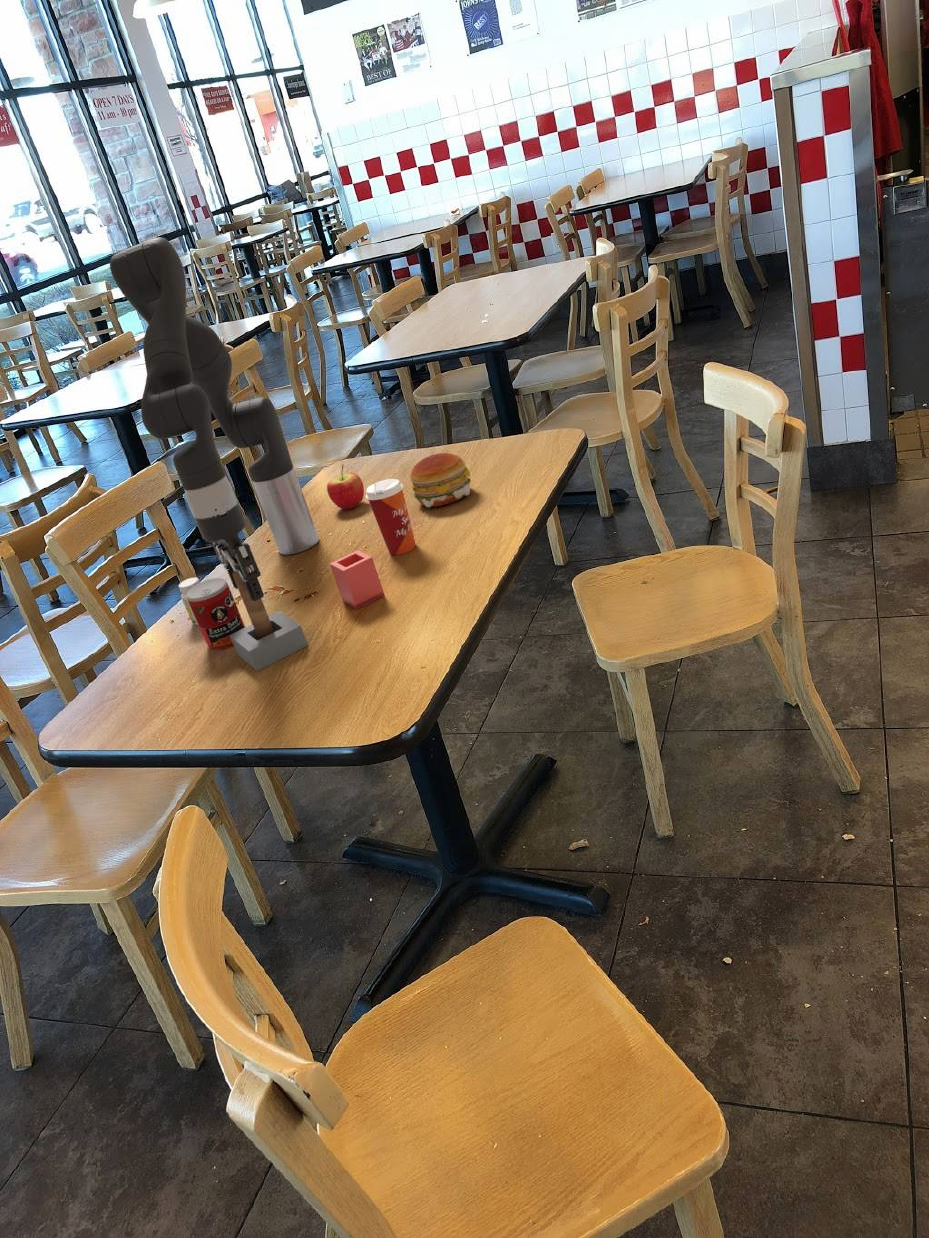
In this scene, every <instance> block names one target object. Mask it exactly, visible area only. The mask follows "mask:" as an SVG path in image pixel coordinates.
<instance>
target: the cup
mask: <svg viewBox="0 0 929 1238" xmlns="http://www.w3.org/2000/svg"><path fill="white" fill-rule="evenodd" d="M329 566H330V569H331V572H332V574H333V576H334V579H335V583H336V586H337V588H338V591H339V594H340V597H341V600H342V602H343V603H345V604H347V605H348V606H350V607H352V608H354V609H356V610H359V609H361V608H363V607H365V606H367V605H370V604H371V603H372V602H375V601H376V600H378V599H380V598H382V597H385V596H386V595H385V592H384V589H383V586H382V583H381V580H380V578H379V574H378V572H377V569H376V568H377V567H376V566H375V562H374V559H373V557H372V556H370V555H369V554H367V553H364V552H362V551H361V550H358V549H357V550H355V551H353V552H351V553H349V554H347V555H345V556H343V557H340V558H339V559H336V560H335V561H332V562H329Z"/></svg>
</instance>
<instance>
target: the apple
mask: <svg viewBox="0 0 929 1238" xmlns="http://www.w3.org/2000/svg"><path fill="white" fill-rule="evenodd" d="M343 470H344V464H341V471H343ZM326 485H327V486H326V489H327V490H326V491H327V494H328V496H329V499H330V500H331V501H332V502H333V503H334V505H335V506H336V507H338V508H340V509H342V510H350V509H355V507H358V506H359V505H360V504H361V503H362V502H363V500H364V496H365V495H364V494H365V488H364V487H365V486H364V484H363V480H362V478H361V477H360V476H359V475H358V473H355V472H346V473H341V474H338V475H337V476H335V477H333V478H332V479H330V481H329V482H328V483H327V484H326Z"/></svg>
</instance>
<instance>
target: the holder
mask: <svg viewBox="0 0 929 1238" xmlns="http://www.w3.org/2000/svg"><path fill="white" fill-rule="evenodd" d="M268 617H269V619H270V622H271V624H272V627H273V629H274V633H272V634H270V635H268V636H266V637H264V638H262V639H260V640H259V639H258V636H257V634H256V631H255V629H254V627H253V624H252V623H251V624H250V625H248V626H245V628H243V629H241V630H239V631H237V632H235V633H233V634H231V635H230V638H231V640H232V643H233V647H234V650H235V652H236V655H238V656H239V657H240V658H241V659H242V660H243V661H245V662H246V663H247V664H248V665H249V666H251V667H252V668H253V669H254V670H255V671H256V672H259V671H260V670H263V669H265V668H267V667H269V666H270V665H273V664H274V663H276V662H278V661H280V660H282V659H284V658H286V657H288V656H290V655H292V654H294V653H296V652H297V651H300V650H301V649H303V648H306V647H308V646H309V644H308V641H307V639H306V636H305V633H304V631H303V628H302V625H300V624H299V623H297V622H296V621H295V620H293V619H292V618H291V617H289V616H288V615H286V614H285V613H284V612H282V611H280V610H278V611H276V612H274V613H271V614H269V615H268Z"/></svg>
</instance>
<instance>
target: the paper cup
mask: <svg viewBox="0 0 929 1238" xmlns="http://www.w3.org/2000/svg"><path fill="white" fill-rule="evenodd" d="M403 488H404V485H403V484H402V483H401V482H400V480H399V479H398V478H389V479H383V480H380V481H377V482H375V483H372V484H371V485H369V486H368V487H367V488H366V490H365V491H366V493H365V494H366V495H365V499H366V500H368V503H369V505H370V507H371V510H372V512H373V515H374V518H375V520H376V523H377V526H378V528H379V530H380V533H381V536H382V537H383V540H384V543H385V545H386V548H387V550H388V553H389V554H390V555H392V556H399V555H400V556H401V555H404V554H407V553H409V552H411V551H413V550H414V549H415V548H416V540H415V536H414V532H413V531H414V530H413V528H412V523H411V519H410V515H409V512H408V507H407V503H406V498H405V494H404V491H403Z"/></svg>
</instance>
